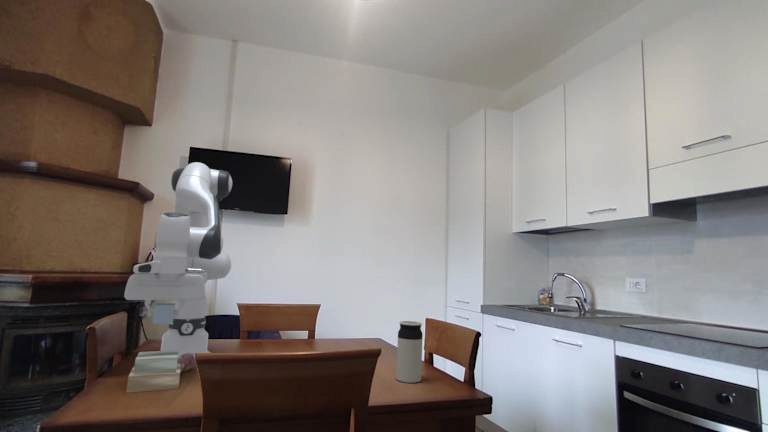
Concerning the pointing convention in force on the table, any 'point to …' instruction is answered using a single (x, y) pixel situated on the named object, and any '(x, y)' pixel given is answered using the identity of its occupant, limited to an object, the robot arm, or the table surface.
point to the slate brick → (163, 313)
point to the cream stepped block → (154, 371)
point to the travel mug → (409, 352)
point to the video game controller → (186, 361)
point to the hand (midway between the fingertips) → (163, 316)
